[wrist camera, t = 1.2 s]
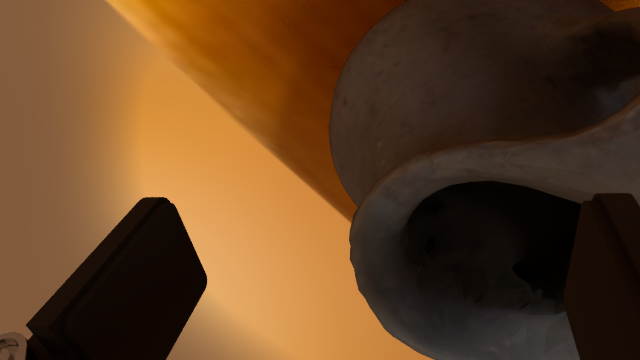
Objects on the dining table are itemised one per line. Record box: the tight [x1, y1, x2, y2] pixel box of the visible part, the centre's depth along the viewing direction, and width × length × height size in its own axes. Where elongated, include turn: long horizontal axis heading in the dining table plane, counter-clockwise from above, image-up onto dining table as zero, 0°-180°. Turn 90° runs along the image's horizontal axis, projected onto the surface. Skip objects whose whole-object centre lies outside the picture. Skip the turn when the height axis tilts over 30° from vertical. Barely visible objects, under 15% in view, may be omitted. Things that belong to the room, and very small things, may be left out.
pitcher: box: [329, 0, 640, 360], centre depth 26 cm, size 21×22×25 cm
